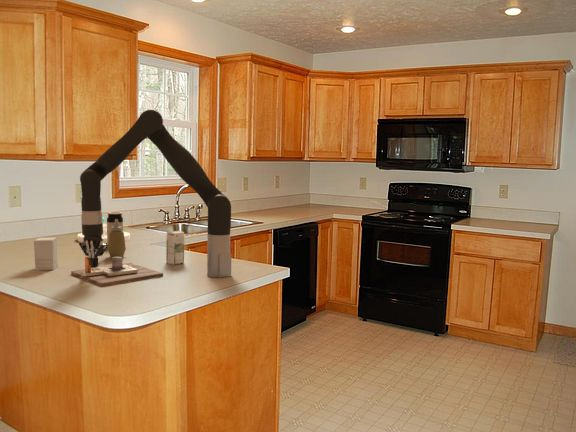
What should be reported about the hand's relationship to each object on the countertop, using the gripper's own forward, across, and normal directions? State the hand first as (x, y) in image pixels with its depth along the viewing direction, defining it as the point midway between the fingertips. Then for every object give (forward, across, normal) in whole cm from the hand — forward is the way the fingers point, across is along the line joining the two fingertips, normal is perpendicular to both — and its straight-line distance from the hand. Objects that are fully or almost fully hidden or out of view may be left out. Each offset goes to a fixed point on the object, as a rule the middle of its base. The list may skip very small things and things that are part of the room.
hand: (94, 267), depth 199 cm
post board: (+5, -1, -11) cm, 12 cm away
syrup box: (+6, -6, -42) cm, 43 cm away
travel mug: (+5, +46, -59) cm, 76 cm away
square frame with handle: (+4, +1, -8) cm, 9 cm away
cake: (+5, +68, -73) cm, 99 cm away
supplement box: (+5, +33, -5) cm, 33 cm away
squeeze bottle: (+5, +26, -39) cm, 47 cm away
